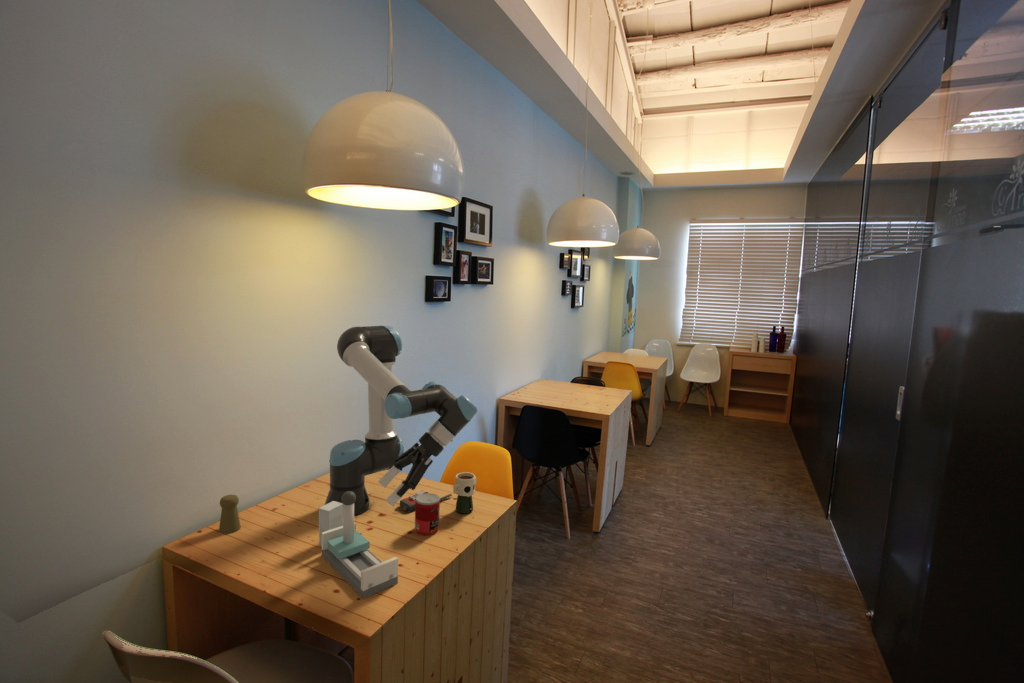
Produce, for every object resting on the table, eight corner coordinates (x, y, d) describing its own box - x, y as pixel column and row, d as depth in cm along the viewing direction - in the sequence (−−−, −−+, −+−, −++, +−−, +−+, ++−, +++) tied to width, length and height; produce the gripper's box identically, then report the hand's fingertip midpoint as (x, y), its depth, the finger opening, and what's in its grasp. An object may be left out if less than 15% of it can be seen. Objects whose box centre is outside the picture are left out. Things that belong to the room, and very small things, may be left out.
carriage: (327, 547, 137) (327, 491, 136) (356, 537, 144) (357, 483, 142) (339, 559, 132) (339, 500, 130) (369, 548, 138) (370, 492, 136)
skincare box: (333, 536, 150) (333, 500, 149) (343, 539, 148) (343, 503, 147) (318, 545, 145) (318, 507, 143) (328, 549, 143) (328, 511, 142)
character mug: (459, 519, 165) (461, 483, 163) (446, 512, 169) (447, 477, 168) (481, 509, 173) (483, 474, 172) (468, 502, 178) (469, 469, 176)
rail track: (321, 555, 140) (321, 532, 139) (353, 543, 146) (354, 522, 146) (362, 598, 121) (363, 572, 120) (397, 583, 128) (398, 558, 127)
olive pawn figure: (216, 528, 152) (215, 495, 151) (237, 522, 156) (236, 490, 155) (222, 536, 148) (221, 502, 147) (243, 529, 152) (242, 496, 151)
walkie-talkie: (410, 516, 166) (453, 499, 181) (411, 504, 166) (453, 488, 181) (395, 508, 172) (437, 492, 187) (395, 496, 171) (438, 481, 186)
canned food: (434, 537, 152) (434, 504, 151) (410, 533, 154) (411, 501, 153) (442, 525, 160) (443, 494, 158) (420, 522, 161) (420, 491, 160)
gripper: (456, 460, 135) (402, 519, 130) (433, 435, 157) (387, 484, 153) (438, 444, 132) (382, 504, 127) (418, 420, 154) (370, 470, 150)
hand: (385, 493), depth 140 cm, fingers open, 13 cm apart
